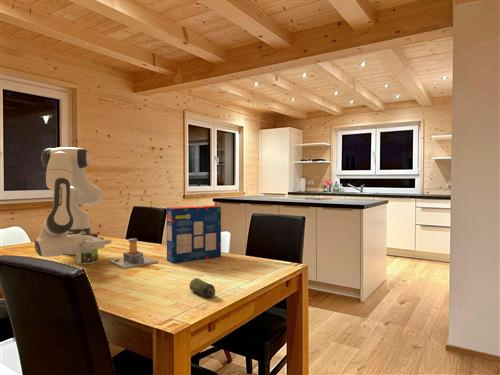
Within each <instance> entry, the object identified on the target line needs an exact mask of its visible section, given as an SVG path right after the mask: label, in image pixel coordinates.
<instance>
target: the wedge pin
mask: <svg viewBox="0 0 500 375" xmlns="http://www.w3.org/2000/svg"><path fill="white" fill-rule="evenodd" d="M128 243H129V246H128V249H129V251H128V252H129V254H137V251H138V250H137V249H138V244H137V243H138V238H128Z"/></svg>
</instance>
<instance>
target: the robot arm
mask: <svg viewBox="0 0 500 375" xmlns="http://www.w3.org/2000/svg"><path fill="white" fill-rule="evenodd" d="M90 157H91V156H90V154H89V151H88V150H87V149H86V148H83V147H67V146H66V147H54V148H52V147H49V148H45V149H44V150H42V152H41V156H40V158H41V164H42V165H43V166H44V168H46V171H45V173H46V174H45V184H46V187H47V188H48V189H49V190H51V191H52V192H53V200H52V201H53V202H52V210H51V212H50V213H49V215H48V217H47V218H46V219H45V220H44V221H43V223H42V224H41V228H40V232H39V235H38V236H37V238H36V239H35V241H34V249H35V251H36V253H37V255H38V256H40V257H42V258H43V257H44V258H49V257H50V258H51V257H52V258H53V257H59V256H63V255H76V253H81V252H82V251H83V250H85V249H98V250H99V249H104V248H105V246H106V245H110V244H112V239H105V238H104V236H98V237H93V236H90V235H81V234H92V233H91V231H92V229H91V227H90V226H91V225H90V223H91V222H90V218H91V217H90V214H89V213H88V211H86V210H83V209H81V208H80V206H79V205H82V206H83V205H95V204H99V203H101V201H102V200H103V197H104V193H103V190H102V188H100V187H99V186H97V185H95V184H93V183H92V182H91V181H90V180H89V179H88V176H87V174H86V173H87V172H86V170H85V168H87V167H88V166H89V163H90V161H91V158H90Z"/></svg>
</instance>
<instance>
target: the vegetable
mask: <svg viewBox="0 0 500 375" xmlns="http://www.w3.org/2000/svg"><path fill="white" fill-rule="evenodd" d="M189 290H190V291H192V292H194V293H196V294H199V295H200V296H203V297H204V298H206V299H210V298H211V299H212V298H214V296H215V295H216V287H215V286H214V285H213V284H212V283H209V282H206V281H204V280H202V279H200V278H197V277H196V278H193V279H192V280H191V281H190V283H189Z"/></svg>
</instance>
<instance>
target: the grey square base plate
mask: <svg viewBox="0 0 500 375" xmlns="http://www.w3.org/2000/svg"><path fill="white" fill-rule="evenodd" d="M122 254H123V255H122V256H123V257H122V258H115V259H109V260H108V263H109V264H112V265H114V266H116V267H118V268H121V269H123V270H124V269H129V268H135V267H140V266H147V265H152V264H158V263H159V260H157V259H153V258H150V257H148V256H145V255H144V252H141V251H138V250H137V254H129V251H126V252H123V253H122Z"/></svg>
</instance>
